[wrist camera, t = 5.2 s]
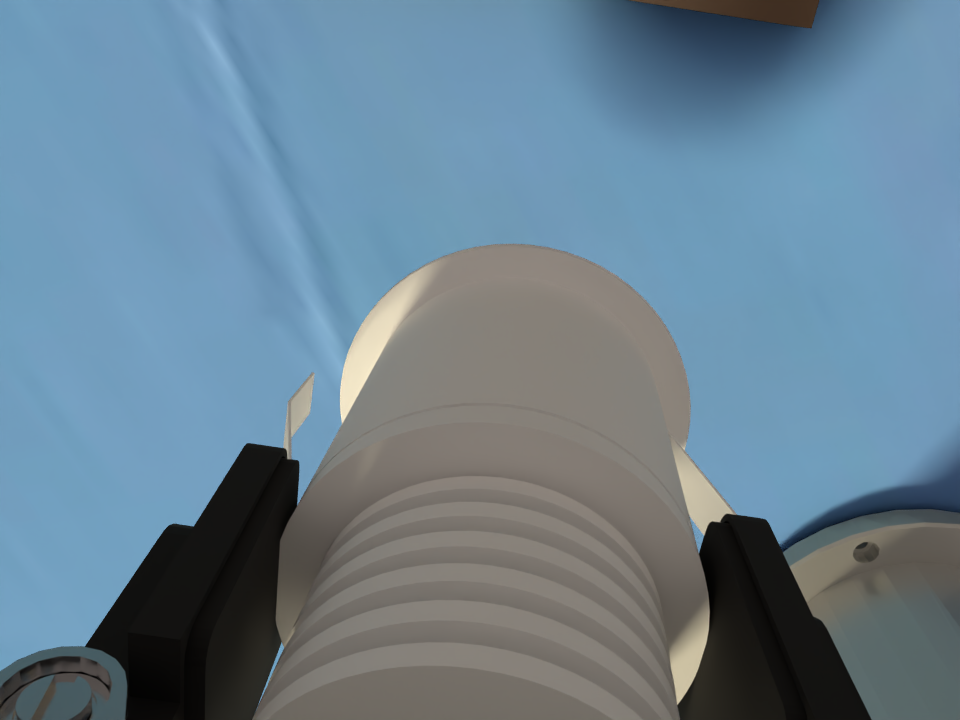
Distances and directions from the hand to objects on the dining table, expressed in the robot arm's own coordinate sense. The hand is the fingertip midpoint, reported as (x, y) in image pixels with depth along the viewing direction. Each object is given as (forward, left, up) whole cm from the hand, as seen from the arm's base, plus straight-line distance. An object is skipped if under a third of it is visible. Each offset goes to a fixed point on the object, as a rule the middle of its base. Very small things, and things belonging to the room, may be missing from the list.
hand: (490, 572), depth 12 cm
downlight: (0, 0, -6) cm, 6 cm away
